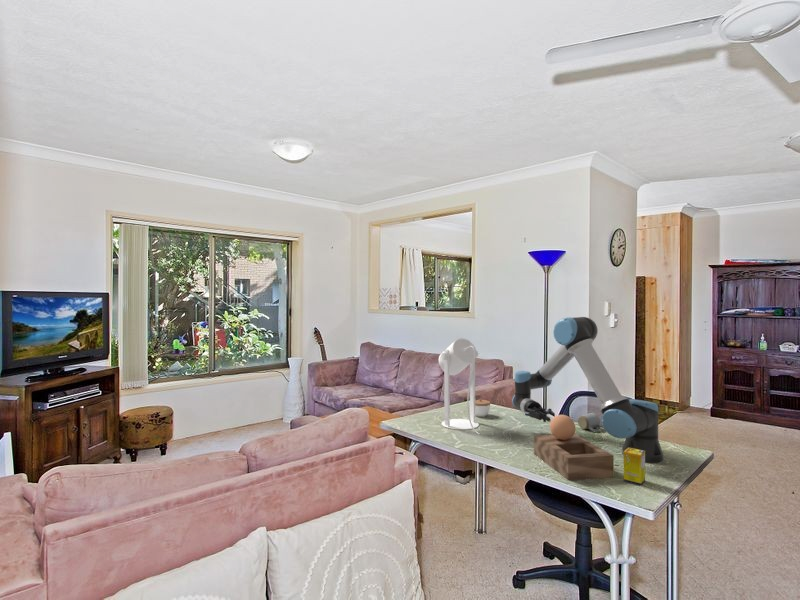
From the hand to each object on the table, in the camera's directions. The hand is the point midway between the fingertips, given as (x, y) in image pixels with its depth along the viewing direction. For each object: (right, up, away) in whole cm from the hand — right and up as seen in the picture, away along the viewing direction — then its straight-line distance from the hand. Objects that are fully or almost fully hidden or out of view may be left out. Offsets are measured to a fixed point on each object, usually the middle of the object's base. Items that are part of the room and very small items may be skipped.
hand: (555, 421), depth 196 cm
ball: (+1, -1, -5) cm, 5 cm away
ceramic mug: (+30, -14, +36) cm, 49 cm away
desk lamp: (-33, -14, +43) cm, 56 cm away
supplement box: (+19, -14, -28) cm, 37 cm away
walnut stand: (+2, -14, -11) cm, 18 cm away
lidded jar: (-20, -14, +64) cm, 69 cm away
